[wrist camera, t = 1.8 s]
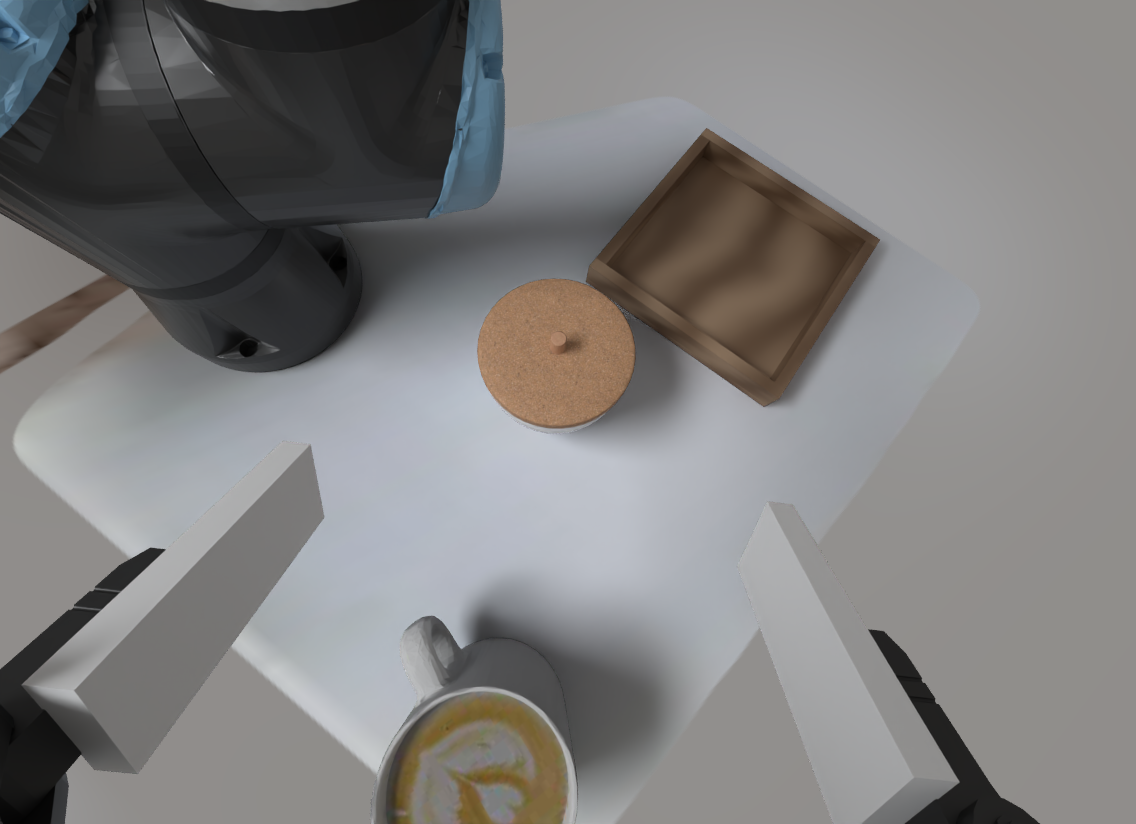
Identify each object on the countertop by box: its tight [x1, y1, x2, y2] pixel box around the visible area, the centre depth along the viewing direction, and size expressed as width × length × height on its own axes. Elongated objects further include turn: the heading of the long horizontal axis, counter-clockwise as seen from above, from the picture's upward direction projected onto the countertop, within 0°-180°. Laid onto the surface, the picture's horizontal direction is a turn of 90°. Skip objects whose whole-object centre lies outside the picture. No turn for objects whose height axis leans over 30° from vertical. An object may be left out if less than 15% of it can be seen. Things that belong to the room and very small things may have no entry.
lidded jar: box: [477, 279, 635, 434], centre depth 33 cm, size 11×11×9 cm
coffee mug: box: [370, 616, 578, 824], centre depth 27 cm, size 13×10×10 cm
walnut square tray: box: [586, 128, 880, 407], centre depth 40 cm, size 19×19×2 cm
